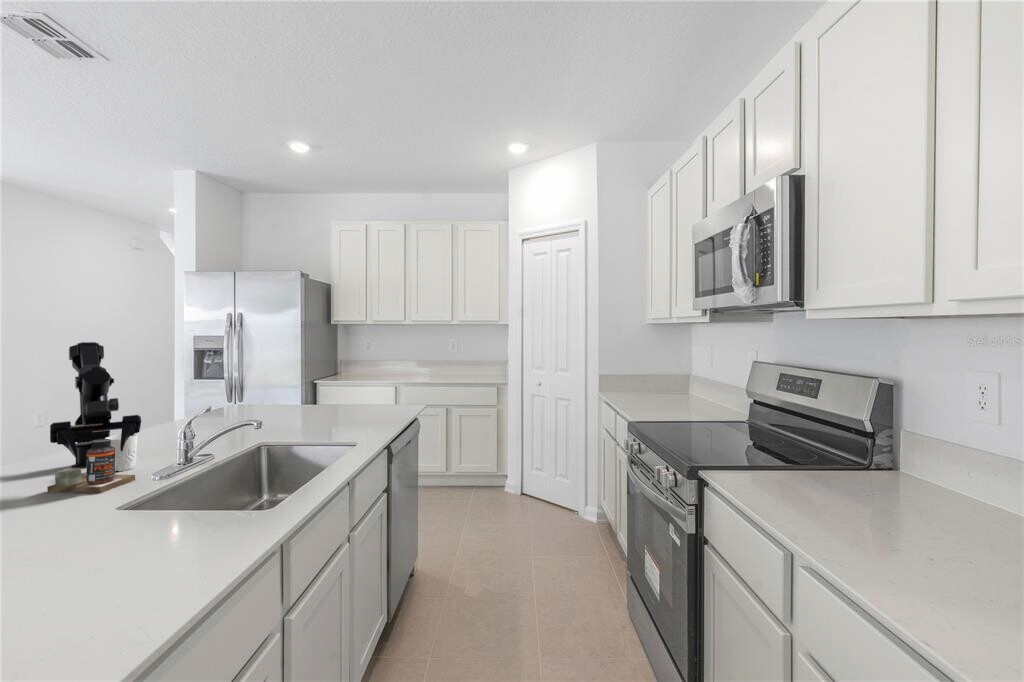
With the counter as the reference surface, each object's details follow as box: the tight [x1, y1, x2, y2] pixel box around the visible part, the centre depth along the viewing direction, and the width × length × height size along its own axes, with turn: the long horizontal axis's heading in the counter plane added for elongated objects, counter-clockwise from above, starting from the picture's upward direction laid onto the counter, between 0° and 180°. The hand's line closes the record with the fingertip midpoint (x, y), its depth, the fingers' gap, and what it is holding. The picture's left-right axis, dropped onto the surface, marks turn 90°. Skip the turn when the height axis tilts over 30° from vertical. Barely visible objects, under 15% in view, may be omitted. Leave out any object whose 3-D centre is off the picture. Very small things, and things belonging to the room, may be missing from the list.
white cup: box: [105, 433, 139, 472], centre depth 146 cm, size 8×8×10 cm
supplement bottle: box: [85, 439, 116, 484], centre depth 128 cm, size 6×6×11 cm
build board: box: [46, 467, 136, 494], centre depth 130 cm, size 14×11×5 cm
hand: (99, 453), depth 127 cm, fingers open, 9 cm apart
